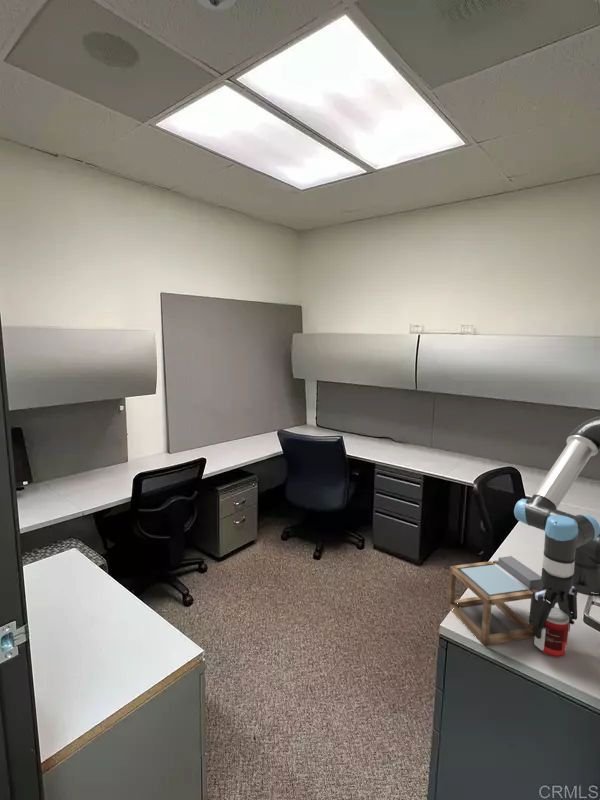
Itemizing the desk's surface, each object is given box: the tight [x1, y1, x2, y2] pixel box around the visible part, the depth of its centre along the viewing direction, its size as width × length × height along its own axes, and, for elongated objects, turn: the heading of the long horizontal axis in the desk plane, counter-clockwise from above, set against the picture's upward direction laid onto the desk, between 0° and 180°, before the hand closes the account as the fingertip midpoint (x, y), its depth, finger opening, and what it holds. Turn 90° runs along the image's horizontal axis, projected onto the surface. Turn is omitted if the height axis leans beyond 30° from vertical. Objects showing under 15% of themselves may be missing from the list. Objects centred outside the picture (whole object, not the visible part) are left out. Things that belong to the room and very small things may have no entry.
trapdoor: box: [460, 555, 543, 600], centre depth 133 cm, size 19×15×6 cm
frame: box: [447, 560, 539, 646], centre depth 133 cm, size 18×19×14 cm
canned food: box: [540, 606, 569, 658], centre depth 121 cm, size 8×8×11 cm
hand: (550, 644), depth 122 cm, fingers closed on canned food, 8 cm apart
